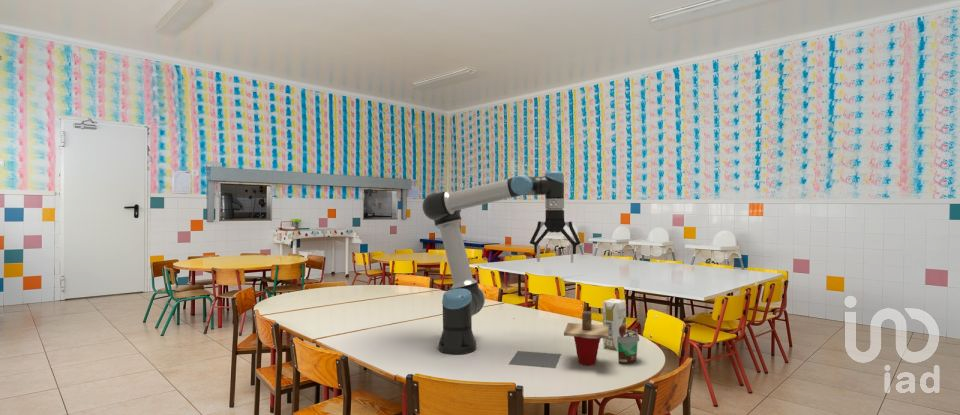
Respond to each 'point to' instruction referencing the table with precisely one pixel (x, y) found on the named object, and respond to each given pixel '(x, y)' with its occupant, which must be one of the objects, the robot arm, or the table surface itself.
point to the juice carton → (614, 321)
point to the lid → (586, 328)
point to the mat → (535, 359)
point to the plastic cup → (586, 350)
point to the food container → (627, 347)
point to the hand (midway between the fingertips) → (555, 262)
